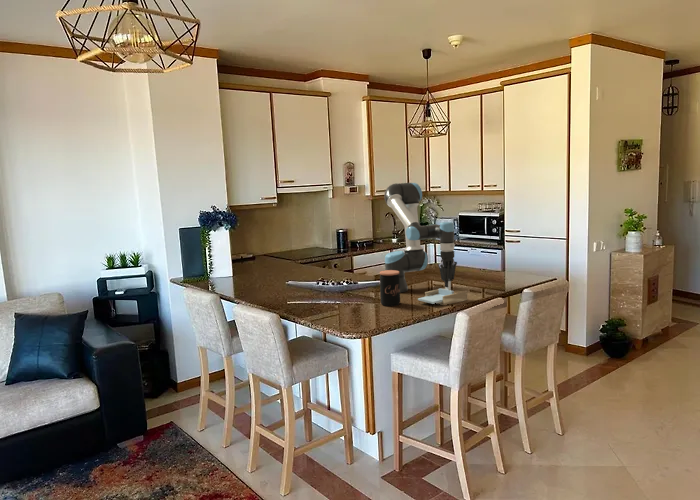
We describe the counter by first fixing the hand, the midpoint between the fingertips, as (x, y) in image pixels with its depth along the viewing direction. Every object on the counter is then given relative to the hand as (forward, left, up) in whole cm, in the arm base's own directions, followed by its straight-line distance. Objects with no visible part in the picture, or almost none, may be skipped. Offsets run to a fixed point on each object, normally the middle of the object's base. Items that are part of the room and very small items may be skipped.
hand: (448, 292), depth 296 cm
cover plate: (0, -9, -2) cm, 9 cm away
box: (0, -2, -4) cm, 4 cm away
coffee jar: (-15, -29, -4) cm, 33 cm away
